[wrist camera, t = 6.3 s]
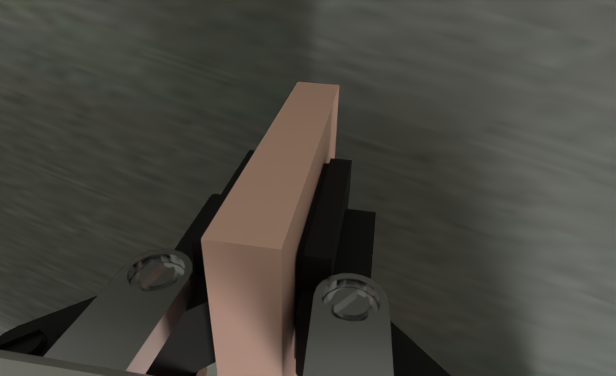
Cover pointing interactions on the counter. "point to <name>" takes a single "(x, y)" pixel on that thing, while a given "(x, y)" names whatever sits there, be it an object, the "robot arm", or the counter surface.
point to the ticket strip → (267, 237)
